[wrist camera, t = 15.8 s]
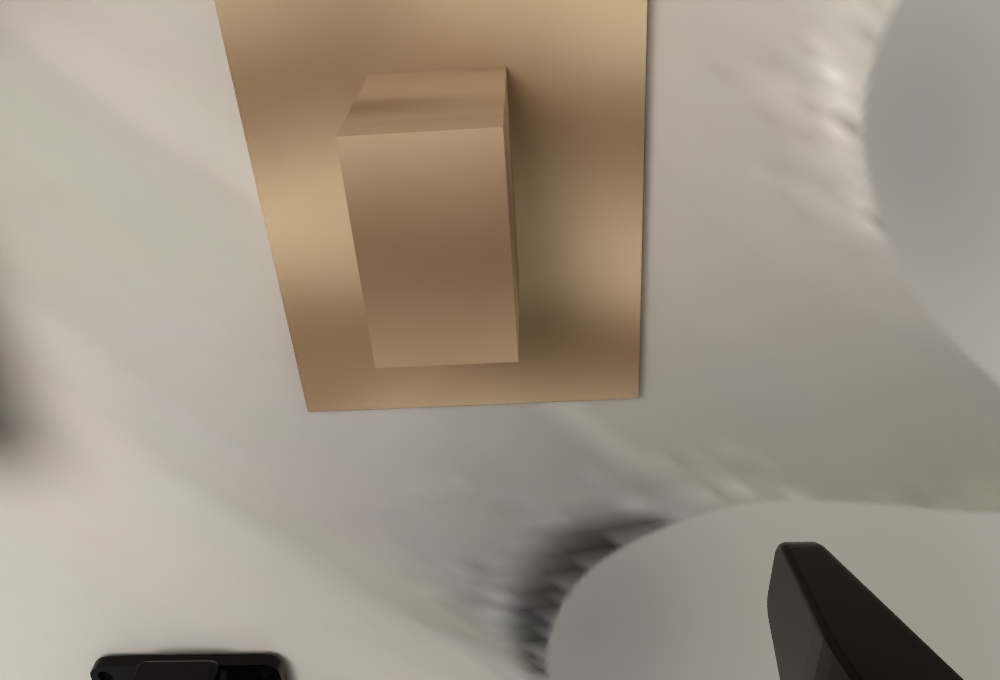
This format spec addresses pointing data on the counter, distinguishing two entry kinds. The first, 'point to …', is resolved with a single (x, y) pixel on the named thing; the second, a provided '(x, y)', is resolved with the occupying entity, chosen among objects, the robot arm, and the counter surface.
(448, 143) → the lid
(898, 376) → the counter surface
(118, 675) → the robot arm
